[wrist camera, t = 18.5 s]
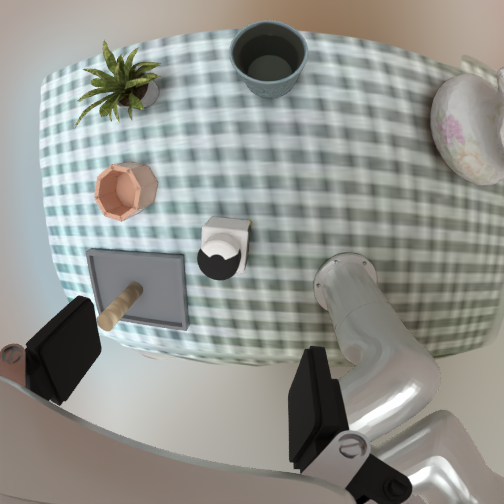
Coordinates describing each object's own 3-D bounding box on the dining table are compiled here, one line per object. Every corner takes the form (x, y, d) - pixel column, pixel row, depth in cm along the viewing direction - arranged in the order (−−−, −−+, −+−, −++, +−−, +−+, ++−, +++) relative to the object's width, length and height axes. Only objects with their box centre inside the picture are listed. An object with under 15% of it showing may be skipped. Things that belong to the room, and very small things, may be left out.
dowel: (145, 292, 54) (115, 328, 41) (135, 297, 54) (104, 333, 42) (137, 279, 53) (104, 313, 40) (127, 285, 54) (93, 318, 41)
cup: (165, 195, 47) (149, 202, 41) (130, 219, 49) (111, 229, 43) (141, 153, 45) (123, 154, 38) (108, 180, 47) (87, 185, 40)
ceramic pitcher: (494, 143, 38) (576, 146, 14) (462, 208, 43) (553, 238, 19) (433, 69, 35) (515, 32, 11) (394, 133, 40) (492, 114, 16)
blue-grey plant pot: (250, 108, 41) (242, 93, 30) (232, 59, 38) (219, 32, 27) (308, 93, 40) (319, 73, 28) (288, 43, 36) (292, 13, 25)
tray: (183, 254, 51) (180, 258, 49) (189, 324, 56) (186, 330, 54) (91, 248, 52) (85, 251, 50) (103, 311, 58) (99, 316, 56)
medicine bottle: (247, 258, 50) (240, 289, 39) (209, 253, 51) (191, 282, 39) (251, 220, 48) (245, 241, 37) (211, 215, 48) (192, 235, 37)
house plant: (156, 150, 45) (106, 152, 29) (102, 122, 43) (46, 118, 28) (195, 81, 40) (160, 51, 25) (137, 57, 38) (90, 31, 23)
